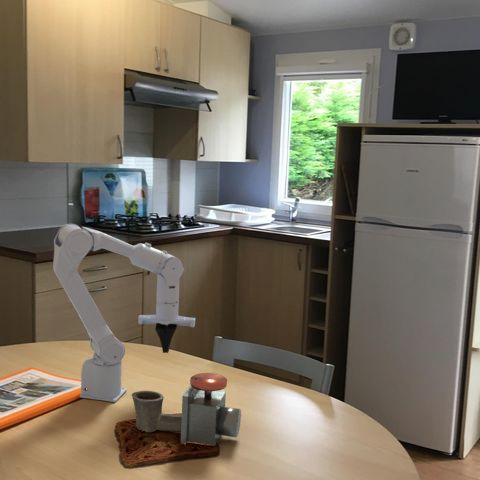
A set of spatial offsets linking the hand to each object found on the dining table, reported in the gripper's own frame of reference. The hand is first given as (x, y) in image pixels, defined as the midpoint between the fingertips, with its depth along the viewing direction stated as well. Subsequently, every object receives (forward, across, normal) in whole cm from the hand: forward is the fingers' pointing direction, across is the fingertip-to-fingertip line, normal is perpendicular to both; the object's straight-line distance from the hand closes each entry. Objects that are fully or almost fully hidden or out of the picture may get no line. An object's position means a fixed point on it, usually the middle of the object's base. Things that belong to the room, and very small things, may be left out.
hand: (165, 351), depth 162 cm
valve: (+9, +14, -27) cm, 32 cm away
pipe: (+10, +2, -25) cm, 27 cm away
